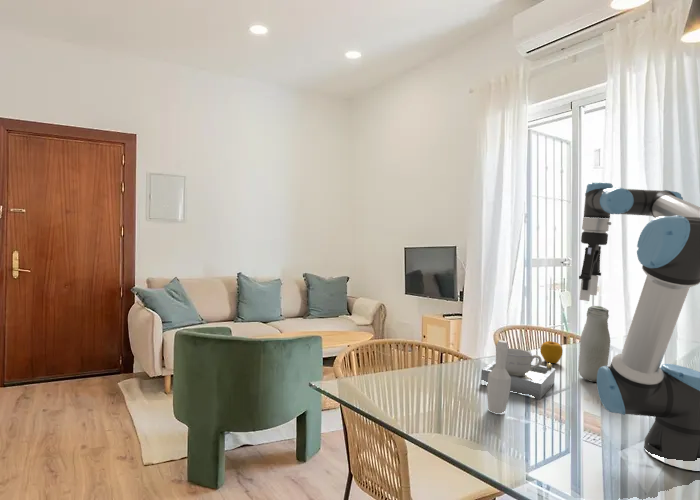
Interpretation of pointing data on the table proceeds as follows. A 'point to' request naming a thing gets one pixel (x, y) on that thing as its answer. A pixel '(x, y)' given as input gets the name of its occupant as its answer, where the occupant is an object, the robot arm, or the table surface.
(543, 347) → the apple
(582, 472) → the table surface
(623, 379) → the robot arm
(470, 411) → the table surface
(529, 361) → the teacup
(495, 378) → the low poly bottle
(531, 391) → the grey serving tray
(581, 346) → the grey bottle
